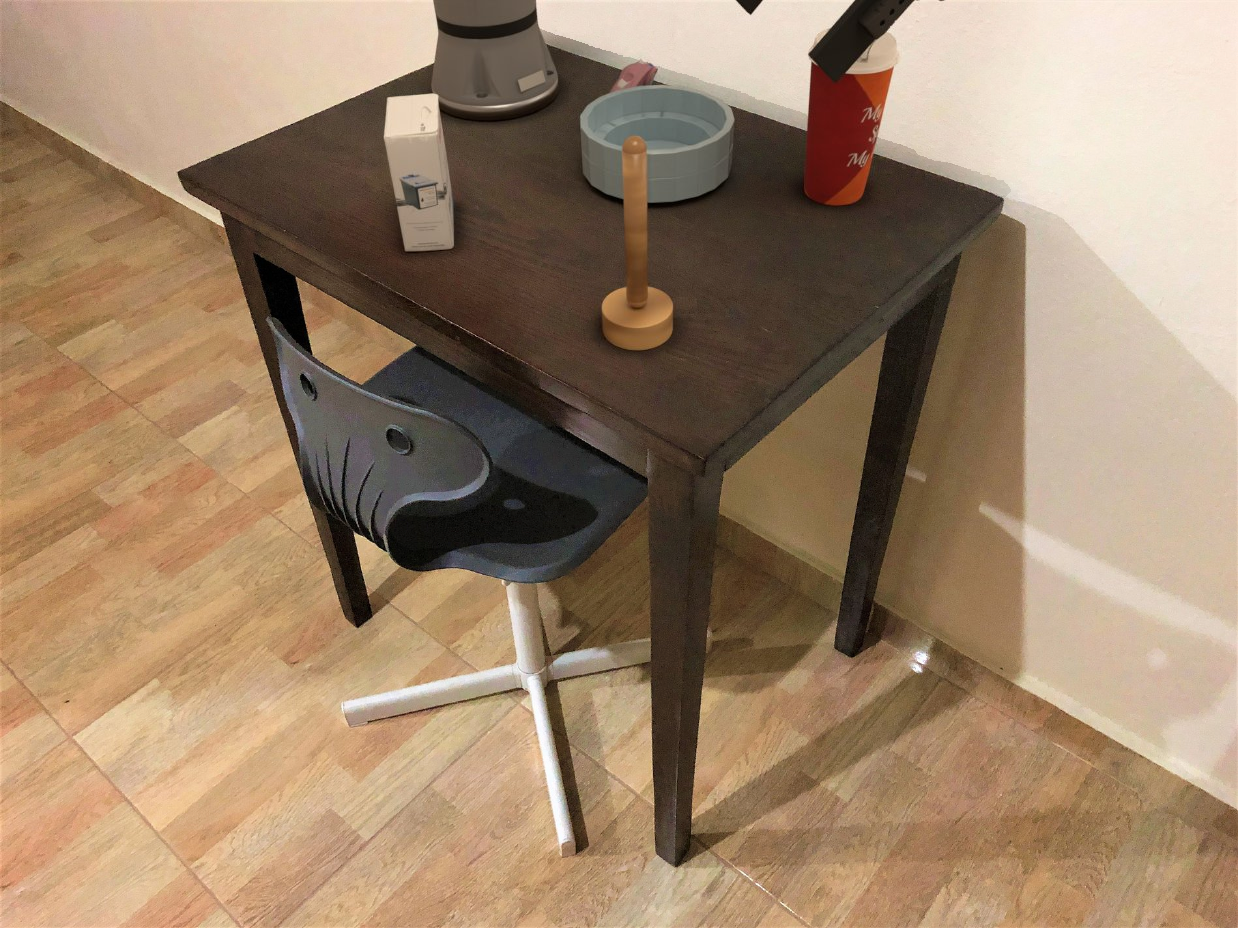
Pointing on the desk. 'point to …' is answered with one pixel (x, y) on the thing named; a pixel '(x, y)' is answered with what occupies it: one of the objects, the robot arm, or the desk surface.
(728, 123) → the bowl
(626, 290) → the wooden paper towel holder
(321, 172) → the desk surface
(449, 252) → the desk surface
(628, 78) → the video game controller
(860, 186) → the coffee cup
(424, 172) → the ink box
